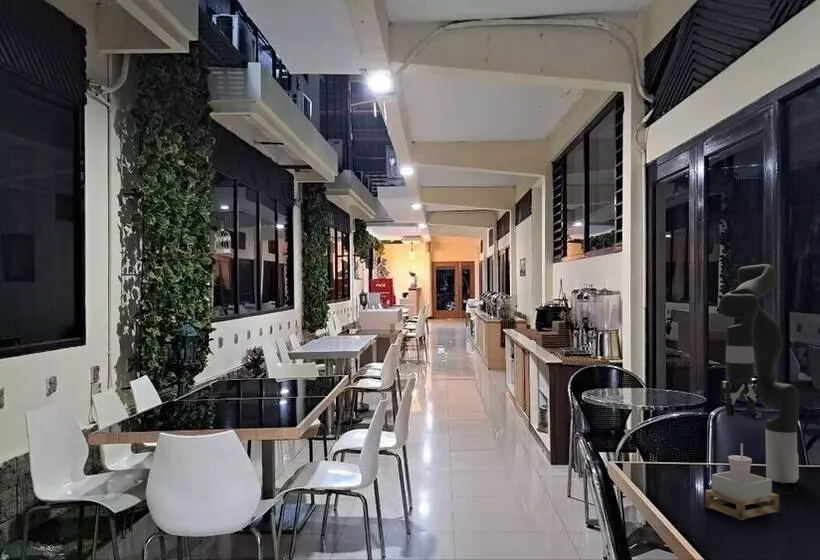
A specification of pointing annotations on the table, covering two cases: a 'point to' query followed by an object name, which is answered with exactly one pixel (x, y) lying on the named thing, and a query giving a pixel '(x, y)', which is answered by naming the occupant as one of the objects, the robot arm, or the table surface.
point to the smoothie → (740, 467)
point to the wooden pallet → (741, 504)
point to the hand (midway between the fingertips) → (740, 415)
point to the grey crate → (742, 486)
